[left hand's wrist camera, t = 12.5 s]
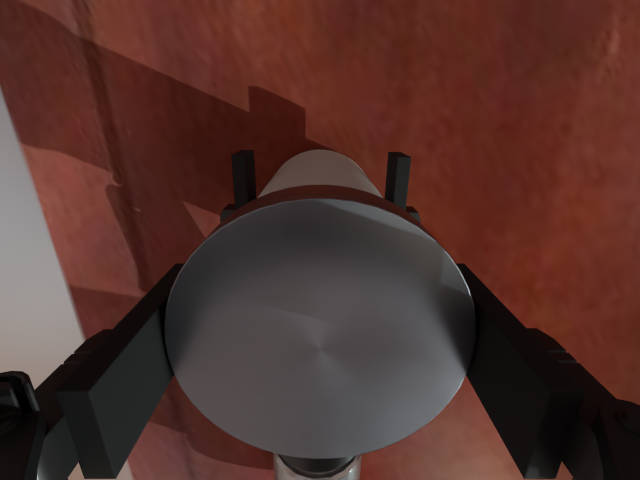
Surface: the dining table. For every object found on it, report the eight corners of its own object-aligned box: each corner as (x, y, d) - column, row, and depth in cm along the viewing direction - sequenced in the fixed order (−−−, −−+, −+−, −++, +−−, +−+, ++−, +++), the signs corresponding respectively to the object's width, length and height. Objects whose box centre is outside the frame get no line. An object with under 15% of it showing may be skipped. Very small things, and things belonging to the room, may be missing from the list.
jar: (281, 260, 29) (231, 452, 13) (255, 162, 26) (144, 244, 10) (379, 241, 29) (462, 418, 12) (363, 138, 26) (443, 184, 9)
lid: (231, 431, 14) (219, 476, 12) (145, 216, 11) (111, 236, 9) (461, 395, 14) (482, 437, 12) (443, 155, 10) (468, 163, 9)
